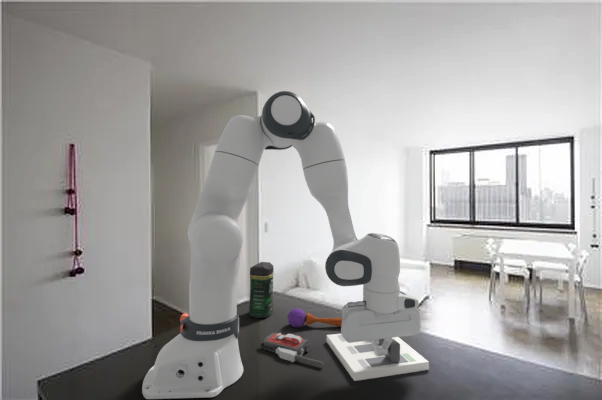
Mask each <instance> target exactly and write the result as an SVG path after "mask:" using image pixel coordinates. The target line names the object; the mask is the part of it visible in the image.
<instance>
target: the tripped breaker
mask: <svg viewBox="0 0 602 400" xmlns="http://www.w3.org/2000/svg"><path fill="white" fill-rule="evenodd" d="M385 357H386V358H387V359H388V360H389V361H390V362H397V361H400V344H399V343H398V342H397V341H395V340H394V339H392V343H391V344H390V346H389V348H388V355H385Z"/></svg>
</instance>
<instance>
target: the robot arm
mask: <svg viewBox="0 0 602 400" xmlns="http://www.w3.org/2000/svg"><path fill="white" fill-rule="evenodd" d="M340 141H341V140H340V138H339V137H338V134H337V132H336V130H335V128H334V126H332V124H330V123H328V122H324V121H316V117H315V115H314V114H313V112H311V109H309V108H308V106H307V105H306V103H305V102H304V100H303V99H302V98H301V97H300V96H299V95H297V94H296V93H294V92H292V91H286V90H283V91H279V92H276V93H273V94H272V95H271V96H269V98H268V99H267V100H266V101H265V103H264V105H263V107H262V112H261V114H260V115H259V116H257V117H256V116H255V117H254V116H253V117H252V116H249V115H244V114H240V115H235V116H232V117H231V118H230V119H229V121H227V123H226V126H225V127H224V129H223V132H222V133H221V135H220V138H219V140H218V142H217V146H216V148H215V151H214V153H213V155H212V156H213V157H212V159H211V160H212V161H211V163H210V166H209V169H208V173H207V176H206V179H205V182H204V185H203V187H202V190H201V192H200V195H199V198H198V200H197V203H196V206H195V209H194V211H193V214H192V216H191V219H190V222H189V225H188V228H187V229H188V230H187V238H188V241H189V245H190V269H189V271H190V273H189V283H188V284H189V286H188V287H189V288H188V291H189V293H188V295H189V297H188V299H189V301H188V302H189V306H188V307H189V308H188V310H189V312H188V313H189V314H188V313H186V312H184V313H182V315H180V318H179V321H180V324H179V334H178V335H176V336H175V337H173V339H170V341H169V342H167V343H166V344H164V345H163V346H162V348H161V349H160V351H158V354H157V357H156V359H155V361H154V365H153V366H152V367H151V368H149V370H148V371H147V373H146V374H145V376H144V378H143V381H142V387H141V394H142V395H143V398H145V399H146V400H163V399H164V400H165V399H167V400H169V399H170V400H171V399H194V398H195V399H199V398H200V399H201V398H203V399H204V398H214V397H217V396H218V395H219V394H220V393H221V392H222V391H223V390H224V389H225V388H227V387H230V386H231V385H233V384H235V383H236V382H237V381H238V380H239V379H241V377H242V375H243V374H244V365H243V363H242V358H241V354H240V347H239V339H238V338H239V334H240V317H239V312H238V311H237V308H238V306H237V305H238V304H237V303H238V301H237V300H238V298H237V296H238V294H237V293H238V292H237V291H238V290H237V289H238V287H237V286H238V275H239V268H240V260H241V253H242V248H243V239H244V238H243V233H242V229H241V228H240V226H239V224H238V223H237V222H238V221H239V218H240V215H241V213H242V211H243V209H244V206H246V205H245V204H246V202H247V201H248V199H249V198H250V196H251V192H252V189H253V186H254V182H255V179H256V176H257V172H258V169H259V167H260V162H261V159H262V156H263V153H264V151H265V150H266V151H267V150H272V151H273V150H277V151H282V150H287V149H290V148H292V147H293V148H294V149H295V150H296V152H297V153H298V155H299V158H300V159H301V161H300V162H301V166H302V167H301V168H302V171H303V172H302V173H303V176H304V180H305V183H306V186H307V188H308V189H309V192H310V194H311V196H312V197H313V198H314V199H315V200H316V201H317V202H318V203H319V204H320V205H321V206H322V208H323V210H324V211H325V213H326V216H327V219H328V223H329V228H330V231H331V235H332V239H333V240H332V241H333V247H332V250H331V252H330V253H329V255H328V257H327V258H326V260H325V268H324V269H325V274H326V275H327V277H328V279H329V280H330V281H331V282H332V283H333V284H335V285H337V286H339V287H355V286H362V292H363V293H362V300H360V301H359V300H358V301H349V302H347V303H346V304H344V305H343V307H342V308H341V318H342V325H341V327H340V334H341V335H342V337H343V338H344V339H345V340H346V341H347V342H348V343H352V342H360V341H369V340H370V341H371V343H372V344H373V346H374V353H375V355H376V356H383V355H388V348H389V346H390V344H391V343H392V338H393V337H399V338H400V337H409V336H416V335H418V334H419V333H420V331H421V325H422V324H421V312H420V310H419V308H418V307H419V300H418V299H417V298H416V297H414V296H413V295H410V294H408V293H407V292H404V291H403V290H401V287H400V284H399V276H400V274H401V256H400V247H399V244H398V242H397V241H396V240H395V238H392V237H391V236H388V235H386V234H381V233H373V232H371V233H367V234H366V235H365V236H364V237H362V238H360V239H358V238H357V236H356V233H355V230H354V225H353V221H352V216H351V213H350V207H349V177H348V168H347V164H346V163H347V162H346V158H345V154H344V152H343V148H342V144H341V142H340ZM379 339H384V342H383V344H382V345H381V346H378V345H377V343H379Z"/></svg>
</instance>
